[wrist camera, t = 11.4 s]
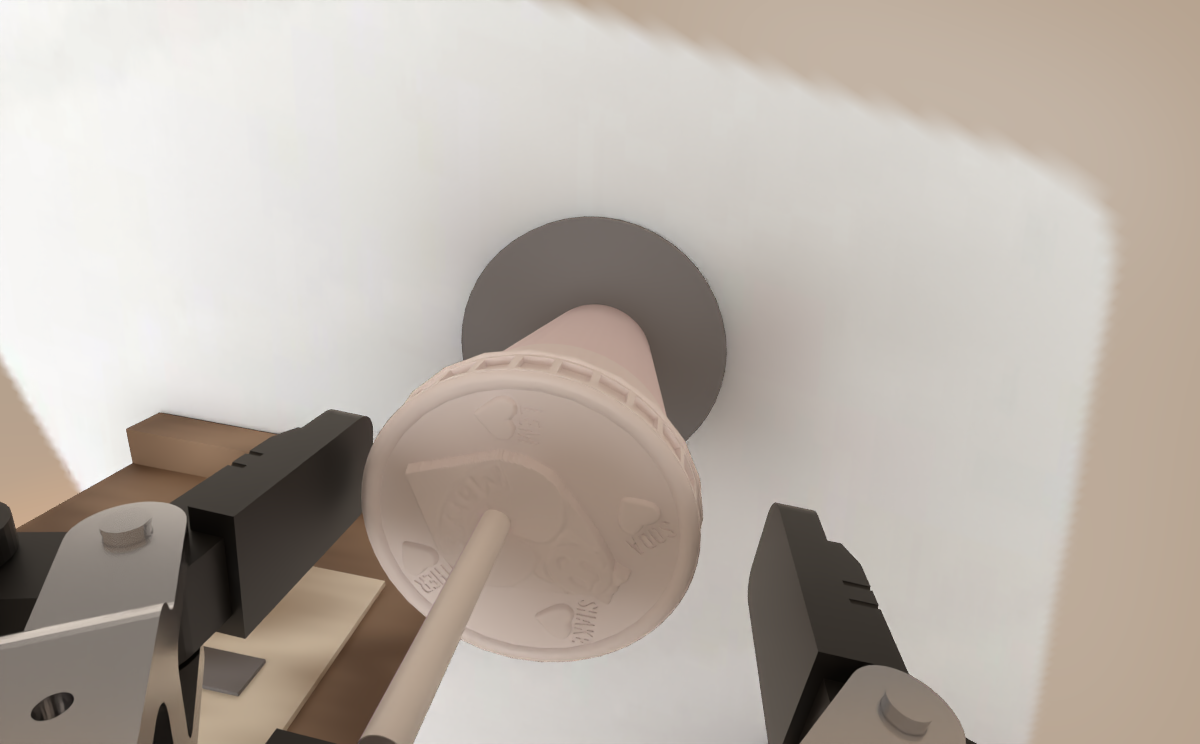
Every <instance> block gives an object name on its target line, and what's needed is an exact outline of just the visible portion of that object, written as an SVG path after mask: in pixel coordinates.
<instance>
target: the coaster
mask: <svg viewBox="0 0 1200 744" xmlns="http://www.w3.org/2000/svg"><path fill="white" fill-rule="evenodd" d="M590 304H599V305H606V306H610V307H613V308H616V309H618V310H620V311H622V312H624V313H625V314H627V315H628V316H630V317H631V318H632V319H633V320H634V321H635V322H636V323H637V324H638V325H639V326H640V328H641V329H642V331H643V332H644V334H645V336H646V338H647V341H648V344H649V347H650V351H651V355H652V359H653V363H654V367H655V371H656V375H657V379H658V383H659V387H660V391H661V395H662V399H663V403H664V408H665V412H666V416H667V418H668V419H669V420H670V422H671V423H672V424H673V426H674V427H675V428H676V430H677V431H678V432H679V434H680V435H681V436H682V437H683V439H684V440H685V441H686V440H687V439H688V438H689V437H690V436H691V435H692V434H693V433H694V432H695V431H696V430H697V429H698V428H699V426H700V425H701V424H702V422H703V421H704V420H705V418H706V417H707V416H708V414H709V412H710V410H711V409H712V407H713V405H714V403H715V401H716V398H717V396H718V393H719V391H720V388H721V385H722V381H723V376H724V372H725V364H726V336H725V331H724V326H723V321H722V317H721V313H720V310H719V308H718V305H717V302H716V299H715V297H714V295H713V293H712V291H711V289H710V287H709V285H708V283H707V282H706V280H705V279H704V277H703V276H702V274H701V273H700V271H699V270H698V268H697V267H696V266H695V265H694V264H693V263H692V262H691V261H690V260H689V259H688V257H687V256H686V255H685V254H684V253H682V252H681V251H680V250H679V249H678V248H676V247H675V246H674V245H673V244H672V243H670V242H669V241H667V240H665V239H664V238H662V237H661V236H659V235H657V234H656V233H654V232H652V231H649V230H647V229H645V228H643V227H641V226H639V225H635V224H632V223H629V222H625V221H622V220H617V219H611V218H605V217H577V218H568V219H563V220H559V221H555V222H552V223H548V224H546V225H543V226H541V227H538V228H536V229H534V230H531V231H529V232H528V233H526V234H524V235H522V236H521V237H519V238H517V239H516V240H514V241H513V242H511V243H510V244H509V245H508V246H506V247H505V248H504V249H503V250H501V251H500V252H499V253H498V254H497V255H496V256H495V257H494V258H493V259H492V261H491V262H490V263H489V264H488V265H487V266H486V268H485V269H484V271H483V272H482V274H481V275H480V276H479V278H478V280H477V282H476V284H475V286H474V288H473V290H472V292H471V294H470V297H469V300H468V303H467V306H466V309H465V314H464V319H463V324H462V353H463V360H467V359H469V358H472V357H475V356H478V355H480V354H483V353H489V352H500V351H504V350H505V349H507V348H509V347H510V346H512V345H513V344H515V343H517V342H518V341H520V340H522V339H523V338H525V337H526V336H528V335H530V334H531V333H533V332H535V331H536V330H538V329H539V328H541V327H543V326H544V325H546V324H548V323H549V322H551V321H552V320H554V319H556V318H557V317H559V316H560V315H562V314H564V313H565V312H567V311H569V310H571V309H573V308H576V307H579V306H583V305H590Z"/></svg>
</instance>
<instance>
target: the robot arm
mask: <svg viewBox="0 0 1200 744" xmlns="http://www.w3.org/2000/svg"><path fill="white" fill-rule="evenodd" d="M372 445H373V426H372V422H371V420H370V418H369V417H367V416H362V415H357V414H352V413H347V412H343V411H338V410H333V409H330V410H327V411H326V412H324V413H323V414H321V415H320V416H318V417H317V418H315V419H314V420H312V421H311V422H310V423H308V424H307V425H305V426H304V427H302V428H295V429H292V430H289V431H286V432H283V433H281V434H278V435H275V436H272V437H270V438H268V439H267V440H265V441H264V442H262V443H261V444H259V445H257V446H256V447H254V448H253V449H251V450H250V452H249V454H246V453H245V454H244V455H242V456H241V457H239V458H238V459H236V460H235V461H233V462H232V465H231V466H230V465H227V466H225V467H224V468H222V469H221V470H219V471H218V472H216V473H215V474H213V475H212V476H210V477H209V478H207V479H206V480H204V481H203V482H201V483H199V484H198V485H196V486H195V487H193V488H192V489H190V490H189V491H187V492H186V493H184V494H183V495H181V496H180V497H178V498H177V499H175V500H174V501H172V502H170V503H164V502H136V503H130V504H124V505H120V506H116V507H113V508H109V509H106V510H103V511H101V512H98V513H96V514H94V515H92V516H90V517H88V518H86V519H84V520H82V521H81V522H79V523H78V524H76V525H75V526H74V527H72V528H71V529H70V530H69V531H68V532H16V528H15V524H14V521H13V517H12V513H11V510H10V508H9V507H8V506H7V505H6V504H4V503H1V502H0V744H197V743H198V732H199V720H200V708H201V696H202V684H203V672H204V660H205V656H204V647H203V644H204V643H205V642H206V641H207V640H208V639H209V638H210V637H211V636H212V635H213V634H214V633H215V632H219V633H223V634H227V635H231V636H235V637H239V638H243V639H246V638H247V637H248V636H249V634H250V633H251V632H252V631H253V630H254V629H255V628H256V627H257V626H258V625H259V624H260V623H261V622H262V620H263V619H264V618H265V617H266V616H267V615H268V614H269V613H270V612H271V611H272V610H273V609H274V608H275V606H276V605H277V604H278V603H279V602H280V601H281V600H282V599H283V598H284V597H285V596H286V595H287V594H288V592H289V591H290V590H291V589H292V588H293V587H294V586H295V585H296V584H297V583H298V582H299V581H300V580H301V578H302V577H303V576H304V575H305V574H306V573H307V572H308V571H309V570H310V569H311V568H312V567H313V566H314V564H315V563H316V562H317V561H318V560H319V559H320V558H321V557H322V556H323V555H324V554H325V553H326V552H327V550H328V549H329V548H330V547H331V546H332V545H333V544H334V543H335V542H336V541H337V540H338V539H339V538H340V536H341V535H342V534H343V533H344V532H345V531H346V530H347V529H348V528H349V527H350V526H351V525H352V524H353V522H354V521H355V520H356V519H357V518H358V517H359V516H360V515H361V514H362V501H361V493H362V480H363V473H364V468H365V465H366V461H367V457H368V455H369V452H370V450H371V447H372ZM748 605H749V612H750V619H751V626H752V633H753V639H754V646H755V653H756V660H757V667H758V674H759V681H760V688H761V695H762V702H763V709H764V716H765V723H766V730H767V737H768V744H976V743H974V742H973V741H971V740H969V739H967V738H966V737H965V734H964V730H963V728H962V726H961V724H960V721H959V720H958V718H957V717H956V715H955V713H954V712H953V711H952V709H951V708H950V707H949V706H948V704H947V703H946V702H945V701H944V700H943V699H942V698H941V697H940V696H939V695H938V694H937V693H935V692H934V691H933V690H932V689H931V688H929V687H928V686H927V685H925V684H924V683H923V682H921V681H919V680H918V679H916V678H914V677H913V676H911V675H909V673H908V671H907V669H906V667H905V664H904V662H903V660H902V658H901V655H900V653H899V651H898V648H897V646H896V644H895V642H894V639H893V637H892V635H891V632H890V630H889V628H888V626H887V623H886V621H885V619H884V616H883V614H882V612H881V610H879V609H878V603H877V601H876V598H875V596H874V594H873V591H870V585H869V582H868V580H867V578H866V575H865V573H864V571H863V569H862V566H861V564H860V563H859V562H858V561H857V560H856V559H855V558H854V557H853V556H852V555H851V554H850V553H849V552H848V550H847V549H846V548H845V547H844V546H843V545H842V544H841V543H836V542H831V541H827V539H826V536H825V533H824V531H823V528H822V525H821V523H820V520H819V517H818V515H817V513H816V512H815V511H813V510H808V509H804V508H799V507H794V506H789V505H784V504H780V503H774V504H773V505H772V506H771V508H770V510H769V513H768V516H767V519H766V522H765V525H764V529H763V532H762V535H761V538H760V542H759V545H758V548H757V551H756V555H755V558H754V561H753V564H752V568H751V572H750V577H749V584H748ZM265 744H336V743H332V742H328V741H324V740H321V739H317V738H313V737H309V736H305V735H301V734H297V733H293V732H289V731H285V730H282V729H278V728H276V730H275V731H274V732H273V734H272V735H271V736H270V738H269V739H268V741H267V742H266V743H265Z"/></svg>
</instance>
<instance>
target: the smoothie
mask: <svg viewBox="0 0 1200 744" xmlns="http://www.w3.org/2000/svg"><path fill="white" fill-rule="evenodd" d="M361 501H362V513H363V518H364V523H365V528H366V531H367V534H368V538H369V541H370V543H371V546H372V548H373V551H374V553H375V555H376V557H377V559H378V561H379V563H380V565H381V566H382V568H383V570H384V571H385V573H386V574H387V576H388V578H389V579H390V580H391V582H392V583H393V584H394V585H395V587H396V588H397V589H398V590H399V592H400V593H401V594H402V595H403V596H404V597H405V599H406V600H407V601H408V602H409V603H410V604H411V605H413V606H414V607H415V608H416V609H417V610H418V611H419V612H421V613H422V614H423V615H424V616H425V617H426V619H425V620H424V622H423V624H422V626H421V628H420V630H419V631H418V633H417V635H416V637H415V639H414V641H413V642H412V644H411V646H410V648H409V650H408V652H407V653H406V655H405V657H404V659H403V661H402V663H401V664H400V666H399V668H398V670H397V672H396V674H395V675H394V677H393V679H392V681H391V683H390V685H389V686H388V688H387V690H386V692H385V694H384V696H383V697H382V699H381V701H380V703H379V705H378V707H377V708H376V710H375V712H374V714H373V716H372V718H371V719H370V721H369V723H368V725H367V727H366V729H365V730H364V732H363V734H362V736H361V738H360V740H359V741H358V744H413V743H414V741H415V738H416V736H417V734H418V732H419V729H420V727H421V725H422V723H423V721H424V718H425V716H426V714H427V712H428V709H429V707H430V705H431V703H432V701H433V698H434V696H435V694H436V692H437V690H438V687H439V685H440V683H441V681H442V678H443V676H444V674H445V672H446V670H447V667H448V665H449V663H450V661H451V658H452V656H453V654H454V652H455V650H456V647H457V645H458V643H459V641H460V639H461V640H463V641H465V642H467V643H469V644H472V645H474V646H476V647H478V648H481V649H483V650H486V651H489V652H493V653H496V654H500V655H503V656H507V657H510V658H516V659H523V660H531V661H538V662H570V661H577V660H583V659H589V658H594V657H599V656H602V655H605V654H608V653H611V652H615V651H617V650H619V649H622V648H624V647H627V646H629V645H631V644H632V643H634V642H636V641H638V640H640V639H641V638H643V637H644V636H646V635H647V634H649V633H650V632H652V631H653V630H654V629H655V628H657V627H658V626H659V625H660V624H661V623H663V621H664V620H665V619H666V618H667V617H668V616H669V615H670V614H671V613H672V612H673V611H674V609H675V608H676V607H677V606H678V604H679V603H680V602H681V600H682V598H683V597H684V595H685V593H686V592H687V590H688V588H689V585H690V583H691V581H692V579H693V576H694V573H695V570H696V566H697V563H698V557H699V552H700V538H701V532H700V529H701V525H702V521H703V510H702V497H701V484H700V478H699V475H698V473H697V470H696V468H695V465H694V463H693V460H692V458H691V455H690V452H689V450H688V447H687V445H686V442H685V440H684V439H683V437H682V436H681V435H680V434H679V432H678V431H677V430H676V428H675V427H674V426H673V424H672V423H671V422H670V420H669V419H668V418H667V416H666V412H665V408H664V403H663V399H662V395H661V391H660V387H659V383H658V379H657V375H656V371H655V367H654V363H653V359H652V355H651V351H650V347H649V344H648V341H647V338H646V336H645V334H644V332H643V331H642V329H641V328H640V326H639V325H638V324H637V323H636V322H635V321H634V320H633V319H632V318H631V317H630V316H628V315H627V314H625V313H624V312H622V311H620V310H618V309H616V308H613V307H610V306H606V305H599V304H590V305H583V306H579V307H576V308H573V309H571V310H569V311H567V312H565V313H564V314H562V315H560V316H559V317H557V318H556V319H554V320H552V321H551V322H549V323H548V324H546V325H544V326H543V327H541V328H539V329H538V330H536V331H535V332H533V333H531V334H530V335H528V336H526V337H525V338H523V339H522V340H520V341H518V342H517V343H515V344H513V345H512V346H510V347H509V348H507V349H505V350H504V351H500V352H489V353H483V354H480V355H478V356H475V357H472V358H469V359H467V360H464V361H461V362H459V363H456V364H453V365H450V366H448V367H445V368H443V369H442V370H441V371H439V372H438V373H437V374H435V375H434V376H433V377H432V378H430V379H429V380H428V381H426V382H425V383H424V384H422V385H421V386H420V387H418V388H417V389H416V390H414V391H413V392H412V393H411V395H410V396H409V398H408V399H407V400H406V402H405V403H404V405H403V406H401V407H400V408H399V409H398V410H397V411H396V412H395V413H394V414H393V415H392V417H391V418H390V419H389V420H388V421H387V422H386V424H385V425H384V427H383V428H382V429H381V431H380V432H379V434H378V436H377V438H376V439H375V441H374V443H373V445H372V447H371V450H370V452H369V455H368V457H367V461H366V465H365V468H364V473H363V480H362V493H361Z"/></svg>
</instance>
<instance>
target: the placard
mask: <svg viewBox="0 0 1200 744" xmlns="http://www.w3.org/2000/svg"><path fill="white" fill-rule="evenodd" d="M126 431H127V437H128V442H129V447H130V452H131V457H132V462H133V463H132V464H131V465H129V466H127V467H125V468H123V469H122V470H120V471H118V472H116V473H115V474H113V475H111V476H109V477H107V478H106V479H104V480H102V481H100V482H99V483H97V484H95V485H93V486H91V487H90V488H88V489H86V490H84V491H83V492H81V493H79V494H77V495H75V496H74V497H72V498H70V499H68V500H67V501H65V502H63V503H61V504H59V505H58V506H56V507H54V508H52V509H51V510H49V511H47V512H45V513H44V514H42V515H40V516H38V517H36V518H35V519H33V520H31V521H29V522H27V523H26V524H24V525H22V526H20V527H19V528H17V529H16V532H68V531H69V530H70V529H71V528H72V527H74V526H75V525H76V524H78V523H79V522H81V521H82V520H84V519H86V518H88V517H90V516H92V515H94V514H96V513H98V512H101V511H103V510H106V509H109V508H113V507H116V506H120V505H124V504H130V503H136V502H164V503H170V502H172V501H174V500H175V499H177V498H178V497H180V496H181V495H183V494H184V493H186V492H187V491H189V490H190V489H192V488H193V487H195V486H196V485H198V484H199V483H201V482H203V481H204V480H206V479H207V478H209V477H210V476H212V475H213V474H215V473H216V472H218V471H219V470H221V469H222V468H224V467H225V466H227V465H230V466H231V465H232V462H233V461H235V460H236V459H238V458H239V457H241V456H242V455H244V454H245V453H246V454H249V452H250V450H251V449H253V448H254V447H256V446H257V445H259V444H261V443H262V442H264V441H265V440H267V439H268V438H270V437H272V436H275V435H278V434H272V433H267V432H261V431H256V430H251V429H245V428H240V427H234V426H229V425H224V424H218V423H213V422H207V421H202V420H197V419H191V418H186V417H180V416H175V415H170V414H164V413H158V414H156V415H154V416H152V417H150V418H148V419H146V420H143V421H141V422H139V423H137V424H135V425H133V426H131V427H129V428H127V429H126ZM425 619H426V617H425V616H424V615H423V614H422V613H421V612H419V611H418V610H417V609H416V608H415V607H414V606H413V605H411V604H410V603H409V602H408V601H407V600H406V599H405V597H404V596H403V595H402V594H401V593H400V592H399V590H398V589H397V588H396V587H395V585H394V584H393V583H392V582H391V580H390V579H389V578H388V576H387V574H386V573H385V571H384V570H383V568H382V566H381V565H380V563H379V561H378V559H377V557H376V555H375V553H374V551H373V548H372V546H371V543H370V541H369V538H368V534H367V531H366V528H365V523H364V518H363V513H362V514H361V515H360V516H359V517H358V518H357V519H356V520H355V521H354V522H353V524H352V525H351V526H350V527H349V528H348V529H347V530H346V531H345V532H344V533H343V534H342V535H341V536H340V538H339V539H338V540H337V541H336V542H335V543H334V544H333V545H332V546H331V547H330V548H329V549H328V550H327V552H326V553H325V554H324V555H323V556H322V557H321V558H320V559H319V560H318V561H317V562H316V563H315V564H314V566H313V567H312V568H311V569H310V570H309V571H308V572H307V573H306V574H305V575H304V576H303V577H302V578H301V580H300V581H299V582H298V583H297V584H296V585H295V586H294V587H293V588H292V589H291V590H290V591H289V592H288V594H287V595H286V596H285V597H284V598H283V599H282V600H281V601H280V602H279V603H278V604H277V605H276V606H275V608H274V609H273V610H272V611H271V612H270V613H269V614H268V615H267V616H266V617H265V618H264V619H263V620H262V622H261V623H260V624H259V625H258V626H257V627H256V628H255V629H254V630H253V631H252V632H251V633H250V634H249V636H248V637H247V638H246V639H243V638H239V637H235V636H231V635H227V634H223V633H219V632H215V633H214V634H213V635H212V636H211V637H210V638H209V639H208V640H207V641H206V642H205V643H204V644H203V647H204V656H205V660H204V672H203V684H202V696H201V708H200V720H199V732H198V743H197V744H265V743H266V742H267V741H268V739H269V738H270V736H271V735H272V734H273V732H274V731H275V730H276V728H278V729H282V730H285V731H289V732H293V733H297V734H301V735H305V736H309V737H313V738H317V739H321V740H324V741H328V742H332V743H336V744H358V741H359V740H360V738H361V736H362V734H363V732H364V730H365V729H366V727H367V725H368V723H369V721H370V719H371V718H372V716H373V714H374V712H375V710H376V708H377V707H378V705H379V703H380V701H381V699H382V697H383V696H384V694H385V692H386V690H387V688H388V686H389V685H390V683H391V681H392V679H393V677H394V675H395V674H396V672H397V670H398V668H399V666H400V664H401V663H402V661H403V659H404V657H405V655H406V653H407V652H408V650H409V648H410V646H411V644H412V642H413V641H414V639H415V637H416V635H417V633H418V631H419V630H420V628H421V626H422V624H423V622H424V620H425Z"/></svg>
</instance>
